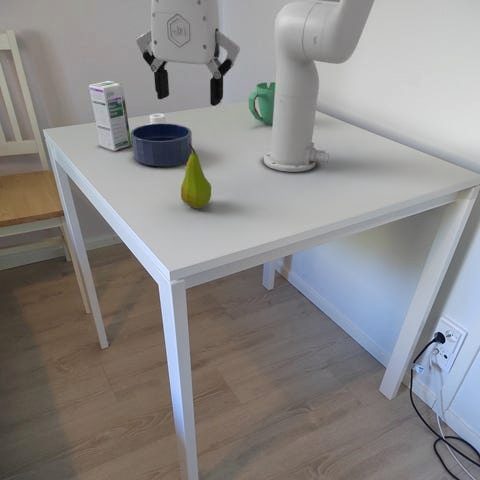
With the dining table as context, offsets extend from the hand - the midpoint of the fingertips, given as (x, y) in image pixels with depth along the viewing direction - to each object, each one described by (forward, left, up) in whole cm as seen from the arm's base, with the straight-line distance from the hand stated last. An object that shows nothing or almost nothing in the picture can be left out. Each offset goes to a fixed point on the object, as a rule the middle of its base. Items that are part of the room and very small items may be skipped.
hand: (189, 100), depth 72 cm
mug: (+1, -59, -19) cm, 62 cm away
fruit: (-1, 0, -19) cm, 19 cm away
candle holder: (+27, -40, -19) cm, 52 cm away
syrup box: (+32, -25, -19) cm, 45 cm away
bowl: (+17, -22, -19) cm, 34 cm away
